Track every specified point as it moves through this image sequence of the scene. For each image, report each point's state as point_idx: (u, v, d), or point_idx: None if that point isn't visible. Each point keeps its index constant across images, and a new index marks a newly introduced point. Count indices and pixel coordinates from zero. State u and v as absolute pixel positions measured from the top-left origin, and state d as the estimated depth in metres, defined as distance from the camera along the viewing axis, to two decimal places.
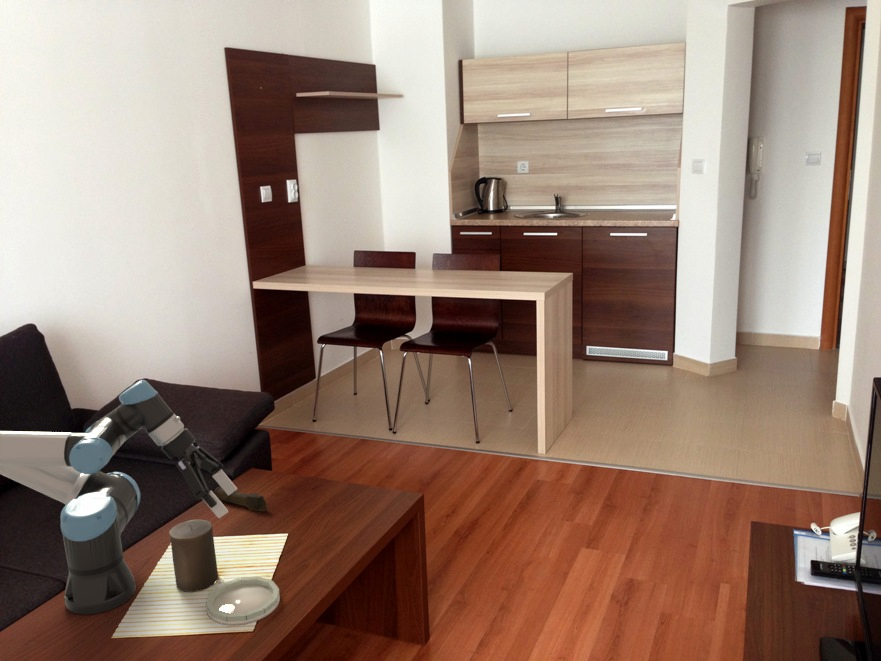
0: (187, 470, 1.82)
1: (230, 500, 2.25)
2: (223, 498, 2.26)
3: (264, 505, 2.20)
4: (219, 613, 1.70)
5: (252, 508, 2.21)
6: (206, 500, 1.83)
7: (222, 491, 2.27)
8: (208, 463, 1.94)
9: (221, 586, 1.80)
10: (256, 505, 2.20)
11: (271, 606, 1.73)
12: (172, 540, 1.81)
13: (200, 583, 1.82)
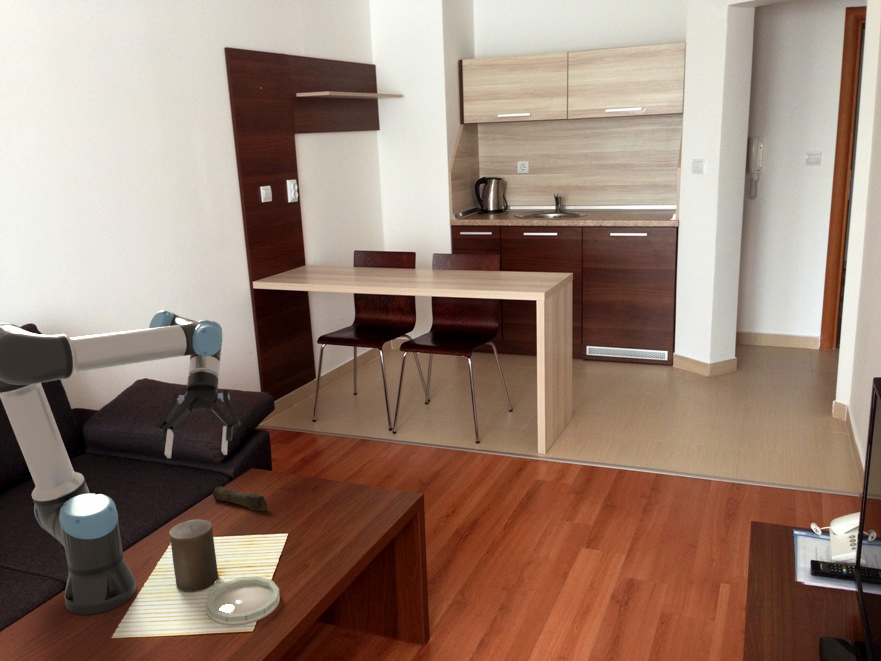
0: None
1: (230, 500, 2.25)
2: (223, 498, 2.26)
3: (264, 505, 2.20)
4: (219, 613, 1.70)
5: (252, 508, 2.21)
6: (231, 430, 1.94)
7: (222, 491, 2.27)
8: (182, 418, 1.96)
9: (221, 586, 1.80)
10: (257, 505, 2.20)
11: (271, 606, 1.73)
12: (172, 540, 1.81)
13: (200, 583, 1.82)
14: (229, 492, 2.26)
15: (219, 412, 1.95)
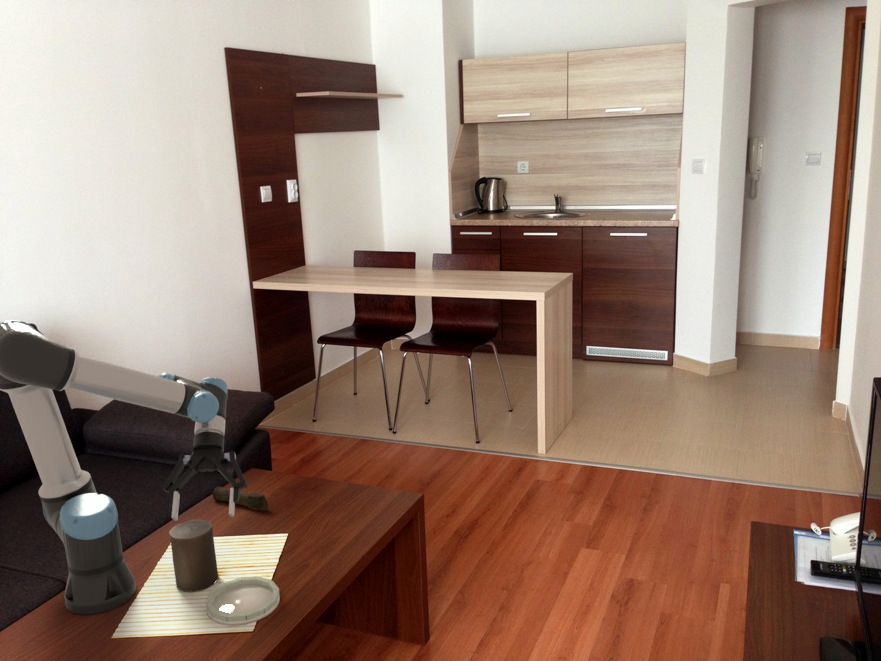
0: None
1: None
2: (223, 498, 2.26)
3: (265, 504, 2.20)
4: (219, 613, 1.70)
5: (253, 507, 2.22)
6: (238, 492, 1.93)
7: (222, 491, 2.27)
8: (189, 479, 1.96)
9: (221, 586, 1.80)
10: (257, 505, 2.21)
11: (271, 606, 1.73)
12: (172, 540, 1.81)
13: (200, 583, 1.82)
14: (229, 492, 2.26)
15: (226, 473, 1.95)
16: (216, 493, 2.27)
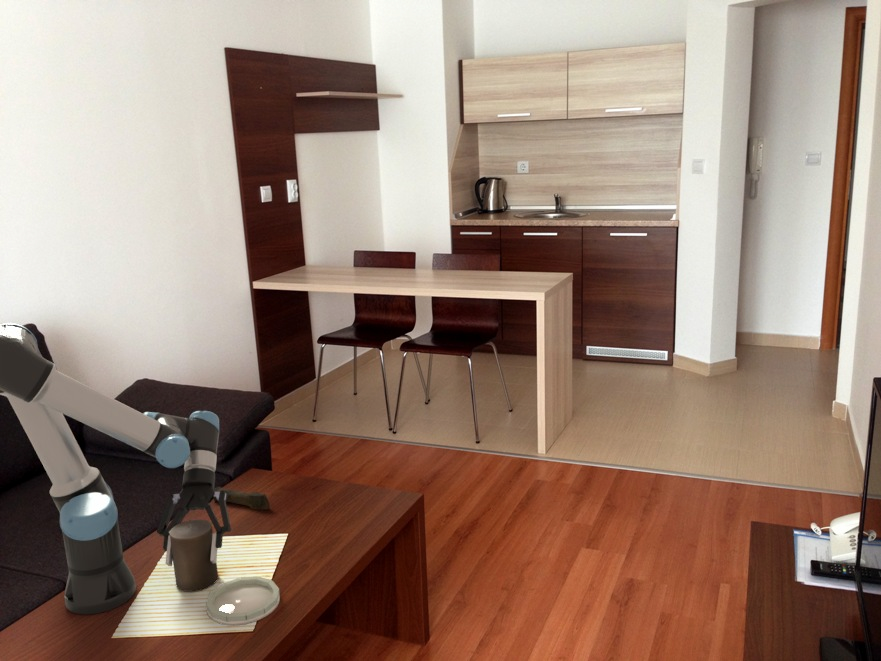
0: (225, 503, 1.90)
1: (230, 500, 2.25)
2: None
3: (267, 503, 2.21)
4: (219, 613, 1.70)
5: (254, 507, 2.22)
6: (221, 537, 1.85)
7: None
8: (181, 519, 1.88)
9: (221, 586, 1.80)
10: (259, 504, 2.21)
11: (271, 606, 1.73)
12: (172, 540, 1.81)
13: (200, 583, 1.82)
14: (229, 492, 2.26)
15: (211, 515, 1.87)
16: None
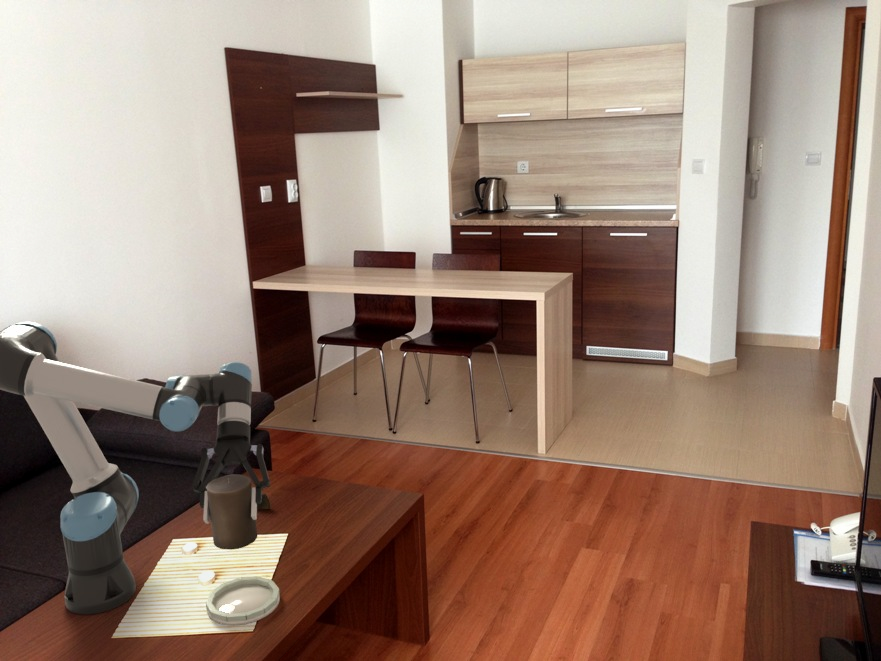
0: None
1: None
2: None
3: (268, 503, 2.21)
4: (219, 613, 1.70)
5: None
6: (261, 492, 1.75)
7: None
8: (217, 475, 1.77)
9: (221, 586, 1.80)
10: None
11: (271, 606, 1.73)
12: (210, 495, 1.70)
13: (240, 540, 1.72)
14: None
15: (249, 469, 1.76)
16: None
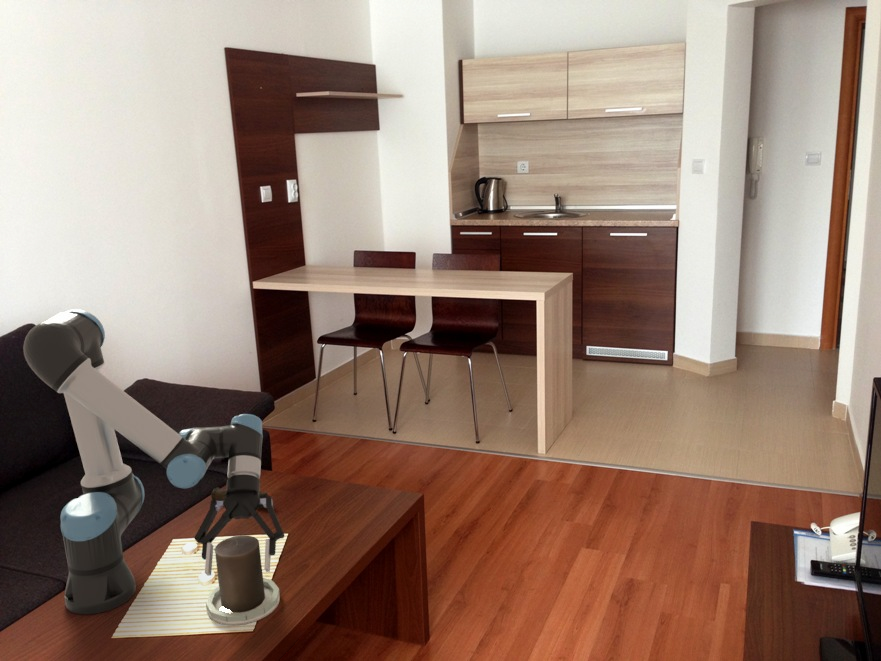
0: (273, 509, 1.80)
1: None
2: (223, 499, 2.26)
3: None
4: (219, 613, 1.70)
5: None
6: (274, 544, 1.75)
7: (221, 492, 2.26)
8: (222, 527, 1.78)
9: None
10: None
11: (271, 606, 1.73)
12: (218, 558, 1.71)
13: (247, 603, 1.72)
14: None
15: (261, 522, 1.77)
16: (215, 494, 2.26)
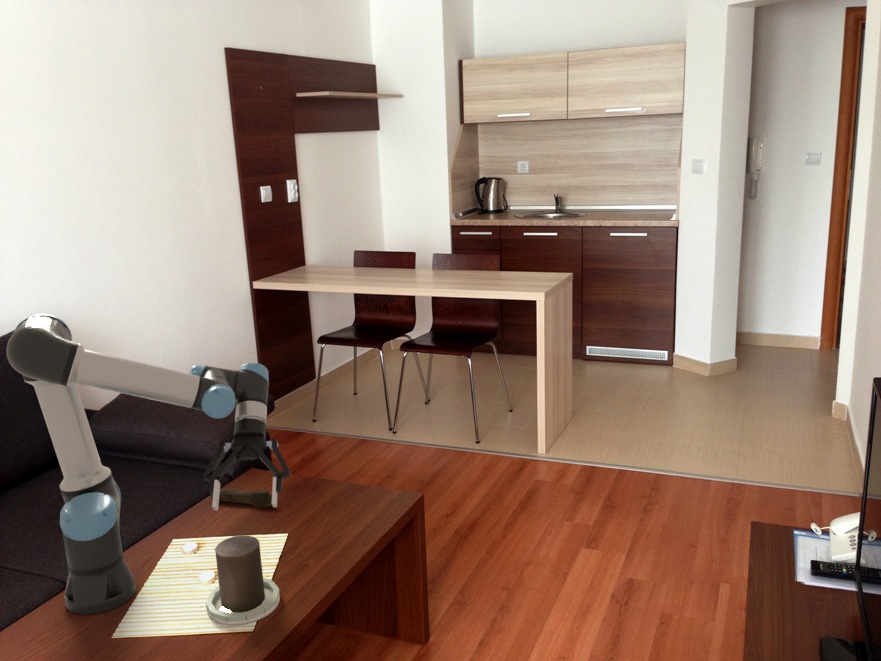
0: None
1: (231, 500, 2.25)
2: (223, 499, 2.26)
3: (271, 500, 2.23)
4: (219, 613, 1.70)
5: (257, 504, 2.23)
6: (281, 481, 1.85)
7: (221, 492, 2.26)
8: (229, 467, 1.88)
9: None
10: (262, 501, 2.23)
11: (271, 606, 1.73)
12: (218, 558, 1.71)
13: (247, 603, 1.72)
14: (229, 492, 2.26)
15: (268, 462, 1.86)
16: None
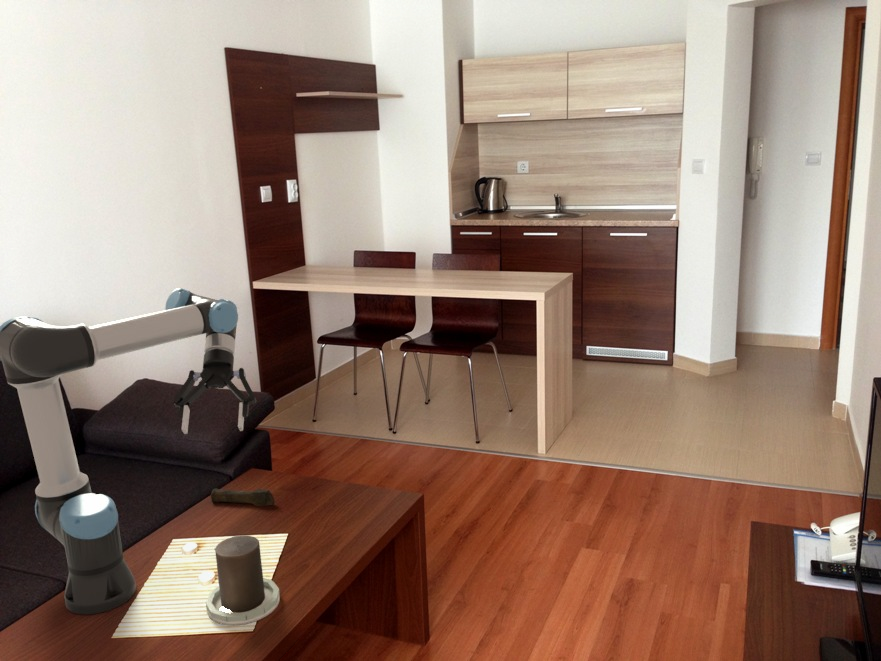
0: None
1: (232, 500, 2.25)
2: (223, 499, 2.26)
3: (272, 498, 2.24)
4: (219, 613, 1.70)
5: (259, 503, 2.24)
6: (247, 407, 1.96)
7: (221, 492, 2.26)
8: (198, 395, 1.98)
9: None
10: (264, 500, 2.23)
11: (271, 606, 1.73)
12: (218, 558, 1.71)
13: (247, 603, 1.72)
14: (229, 492, 2.26)
15: (235, 389, 1.97)
16: (215, 495, 2.26)
